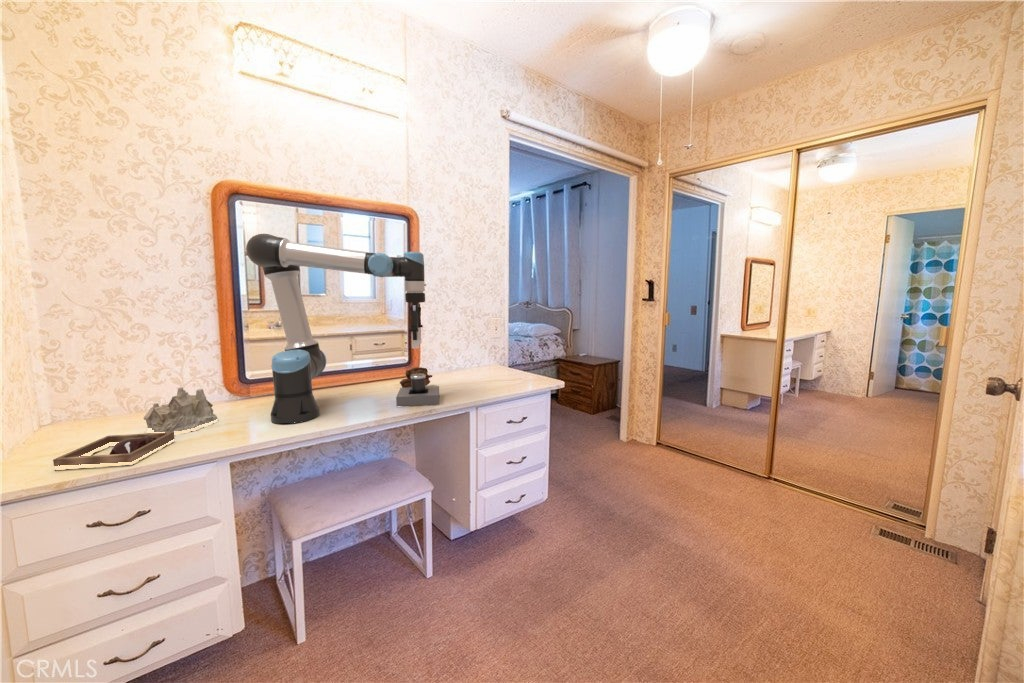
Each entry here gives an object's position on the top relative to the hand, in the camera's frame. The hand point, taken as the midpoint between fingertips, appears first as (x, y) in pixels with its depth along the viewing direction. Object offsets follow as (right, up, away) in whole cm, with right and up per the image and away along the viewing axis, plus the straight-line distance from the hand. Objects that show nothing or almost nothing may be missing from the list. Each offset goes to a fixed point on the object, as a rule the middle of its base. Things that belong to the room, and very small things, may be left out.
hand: (416, 345), depth 153 cm
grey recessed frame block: (0, -22, +3) cm, 23 cm away
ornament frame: (-70, -30, -47) cm, 90 cm away
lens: (0, -22, +3) cm, 22 cm away
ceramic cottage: (-71, -27, -26) cm, 80 cm away
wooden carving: (-5, -20, +21) cm, 30 cm away
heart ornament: (-66, -30, -46) cm, 86 cm away
